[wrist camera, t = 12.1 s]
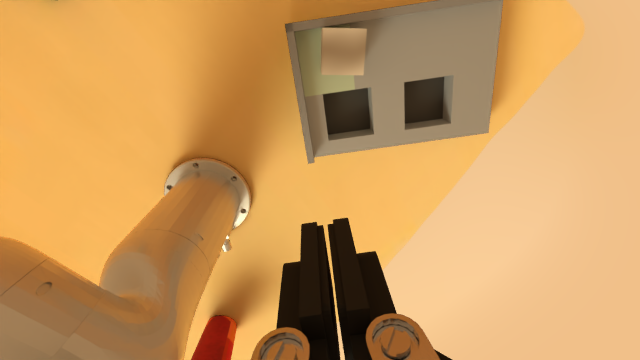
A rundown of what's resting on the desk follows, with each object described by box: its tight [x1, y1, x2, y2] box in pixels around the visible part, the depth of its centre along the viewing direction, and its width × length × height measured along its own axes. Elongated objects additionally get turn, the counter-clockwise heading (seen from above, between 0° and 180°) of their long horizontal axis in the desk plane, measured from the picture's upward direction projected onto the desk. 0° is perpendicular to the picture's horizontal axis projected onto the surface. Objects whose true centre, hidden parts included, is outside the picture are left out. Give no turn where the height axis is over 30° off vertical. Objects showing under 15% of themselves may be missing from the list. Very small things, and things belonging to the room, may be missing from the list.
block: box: [321, 28, 367, 75], centre depth 32 cm, size 4×4×4 cm
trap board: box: [285, 0, 503, 164], centre depth 36 cm, size 16×24×5 cm, turn 98°
